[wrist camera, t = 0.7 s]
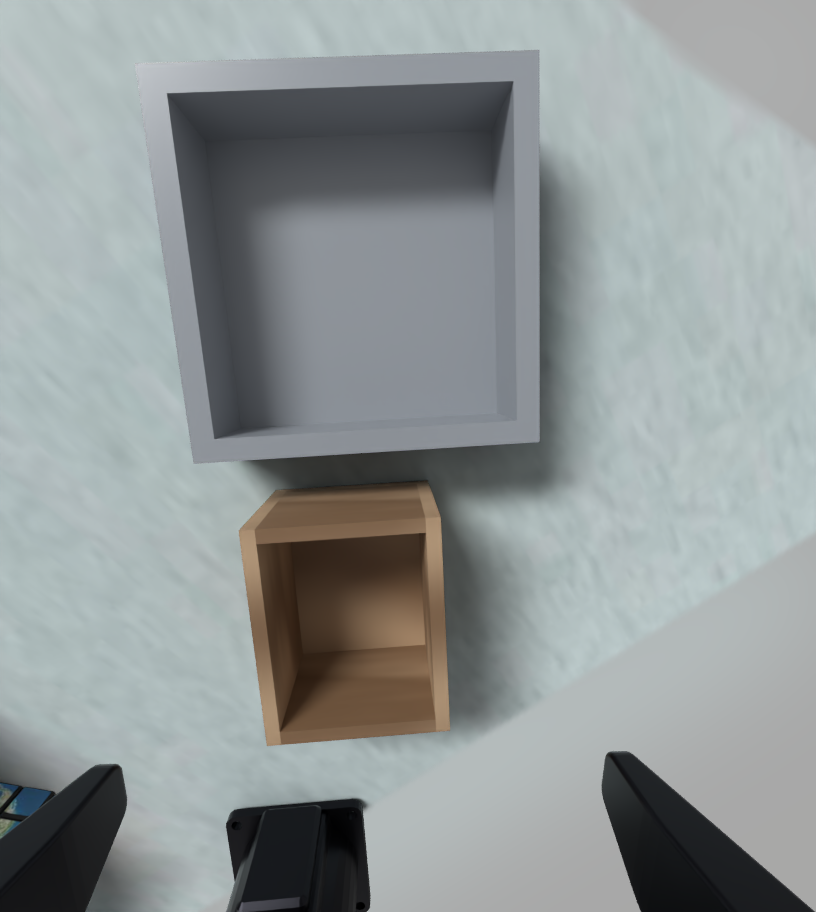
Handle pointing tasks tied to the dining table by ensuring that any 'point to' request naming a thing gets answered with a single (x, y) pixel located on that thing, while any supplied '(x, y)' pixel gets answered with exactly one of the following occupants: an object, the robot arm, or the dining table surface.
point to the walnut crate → (348, 612)
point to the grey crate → (350, 249)
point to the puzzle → (19, 804)
